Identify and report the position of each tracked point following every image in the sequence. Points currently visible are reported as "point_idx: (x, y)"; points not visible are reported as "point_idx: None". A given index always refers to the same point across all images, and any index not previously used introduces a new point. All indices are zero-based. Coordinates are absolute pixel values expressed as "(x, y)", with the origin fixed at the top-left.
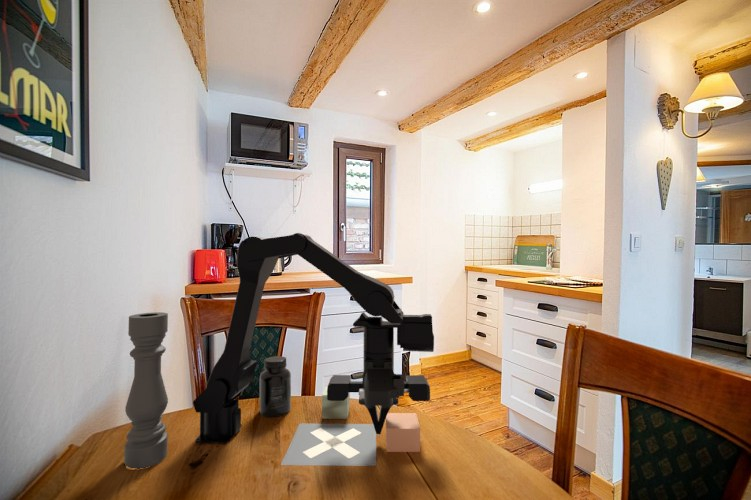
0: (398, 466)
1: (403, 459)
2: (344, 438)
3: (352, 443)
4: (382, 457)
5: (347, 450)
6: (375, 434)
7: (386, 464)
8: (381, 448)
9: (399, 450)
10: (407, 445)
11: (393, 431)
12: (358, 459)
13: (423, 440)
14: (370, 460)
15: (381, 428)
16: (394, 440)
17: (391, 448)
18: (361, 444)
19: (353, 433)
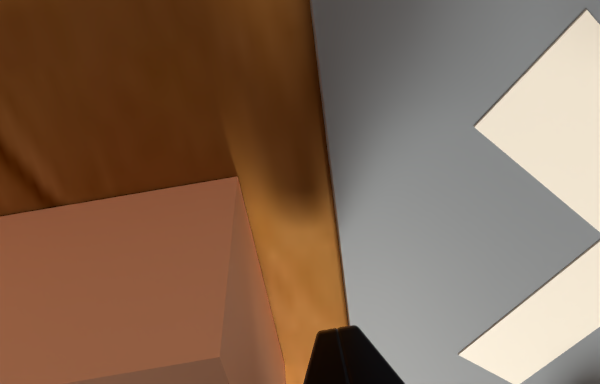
0: (80, 9)
1: (70, 129)
2: (592, 277)
3: (533, 235)
4: (266, 123)
5: (585, 138)
6: None
7: (207, 22)
8: (294, 236)
9: (119, 209)
10: (23, 249)
11: (128, 339)
12: (491, 19)
13: None
14: (371, 21)
15: (313, 379)
16: (145, 261)
17: (189, 206)
18: (461, 237)
19: (518, 339)
